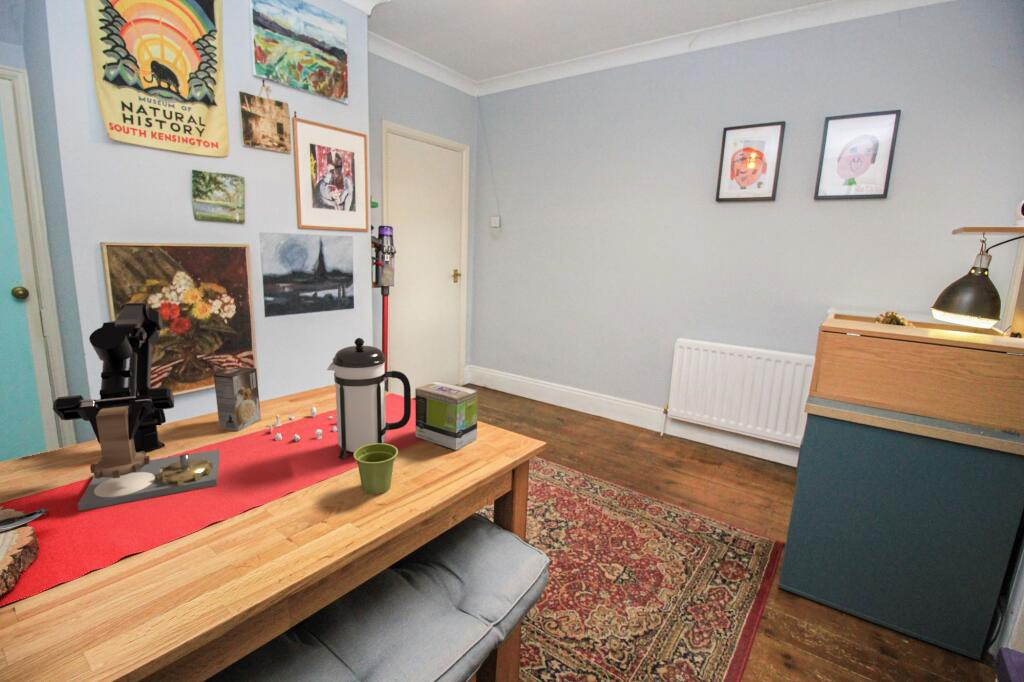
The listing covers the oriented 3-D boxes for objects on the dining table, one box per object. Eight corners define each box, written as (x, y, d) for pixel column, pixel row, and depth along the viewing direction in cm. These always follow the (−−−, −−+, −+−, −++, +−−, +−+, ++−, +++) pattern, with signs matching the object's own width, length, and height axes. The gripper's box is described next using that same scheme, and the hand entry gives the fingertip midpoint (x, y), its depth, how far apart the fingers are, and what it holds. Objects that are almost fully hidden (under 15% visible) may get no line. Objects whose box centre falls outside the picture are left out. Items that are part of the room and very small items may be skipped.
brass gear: (149, 476, 102) (146, 457, 101) (198, 459, 110) (196, 442, 110) (172, 490, 97) (170, 470, 96) (221, 471, 106) (219, 453, 105)
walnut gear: (97, 462, 98) (88, 406, 96) (153, 453, 103) (145, 400, 100) (85, 483, 90) (74, 423, 88) (146, 473, 95) (138, 415, 92)
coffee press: (361, 469, 112) (358, 348, 106) (319, 451, 121) (314, 338, 114) (412, 444, 127) (412, 336, 120) (372, 430, 135) (369, 328, 129)
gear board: (99, 474, 105) (98, 467, 105) (219, 454, 116) (219, 448, 116) (79, 511, 91) (77, 503, 91) (217, 485, 103) (216, 478, 102)
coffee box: (243, 417, 140) (238, 365, 137) (261, 419, 139) (257, 367, 135) (218, 429, 131) (212, 374, 128) (238, 431, 130) (233, 376, 127)
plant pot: (406, 482, 107) (406, 447, 105) (382, 503, 99) (381, 465, 97) (371, 474, 110) (371, 440, 108) (345, 494, 101) (344, 457, 100)
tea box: (478, 439, 132) (479, 389, 129) (455, 451, 124) (456, 399, 121) (437, 426, 140) (438, 379, 137) (414, 437, 132) (413, 387, 128)
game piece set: (293, 413, 145) (293, 402, 144) (354, 420, 143) (353, 408, 142) (251, 439, 126) (250, 426, 126) (320, 447, 124) (319, 433, 123)
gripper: (177, 385, 112) (178, 447, 105) (74, 395, 102) (67, 463, 95) (170, 362, 103) (169, 427, 96) (56, 371, 94) (47, 443, 87)
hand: (115, 440), depth 94 cm, fingers closed on walnut gear, 4 cm apart
